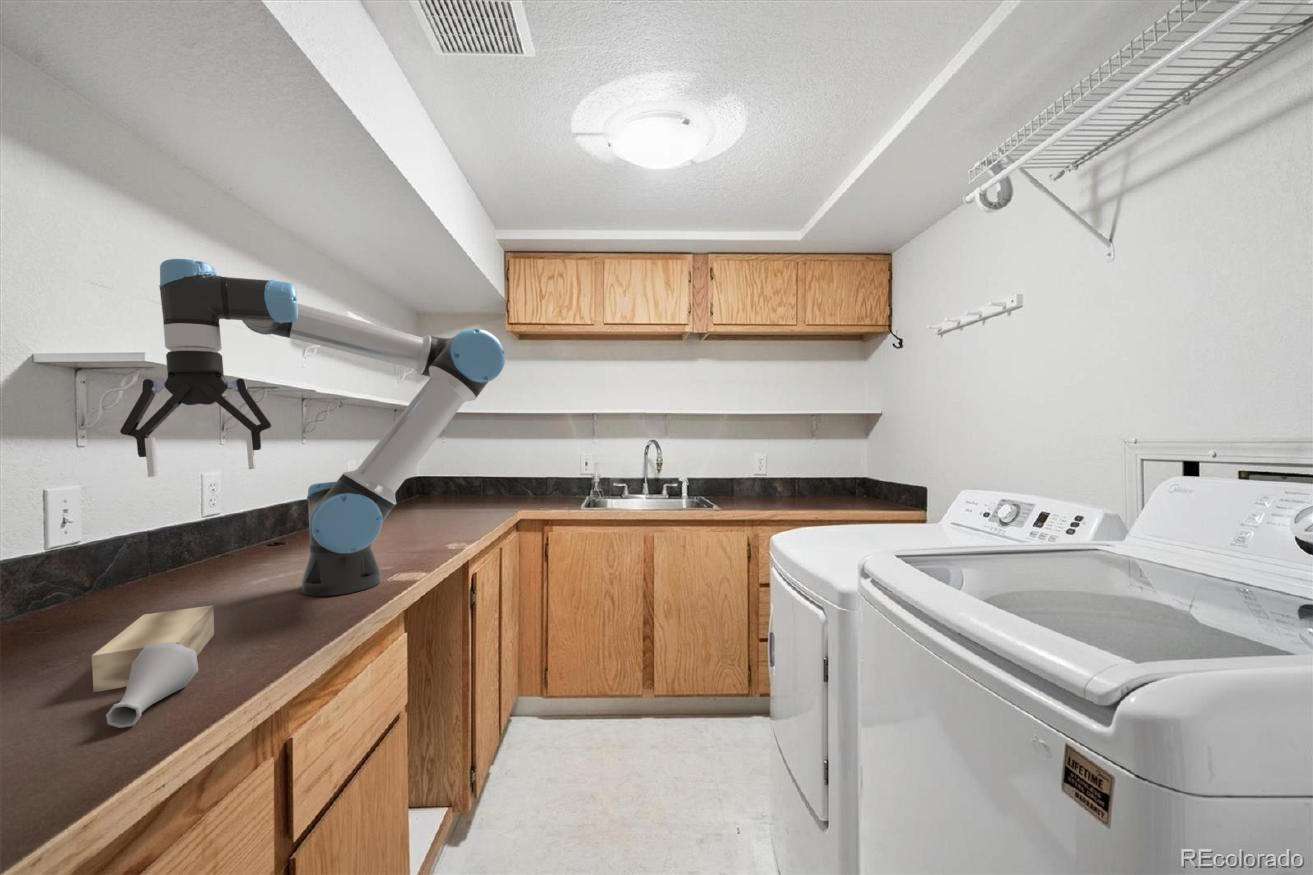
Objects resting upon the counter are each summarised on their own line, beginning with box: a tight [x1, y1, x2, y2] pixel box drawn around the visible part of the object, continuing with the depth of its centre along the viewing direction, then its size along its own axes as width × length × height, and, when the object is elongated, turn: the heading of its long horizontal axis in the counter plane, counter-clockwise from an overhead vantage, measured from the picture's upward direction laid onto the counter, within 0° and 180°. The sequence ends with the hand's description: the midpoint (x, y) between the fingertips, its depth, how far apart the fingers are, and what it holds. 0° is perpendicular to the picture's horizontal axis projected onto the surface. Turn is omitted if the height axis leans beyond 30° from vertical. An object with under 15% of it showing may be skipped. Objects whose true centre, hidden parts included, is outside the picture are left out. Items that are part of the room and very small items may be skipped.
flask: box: [105, 642, 199, 729], centre depth 68 cm, size 7×7×10 cm
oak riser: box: [91, 604, 215, 693], centre depth 83 cm, size 9×18×5 cm, turn 27°
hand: (204, 472), depth 96 cm, fingers open, 13 cm apart
